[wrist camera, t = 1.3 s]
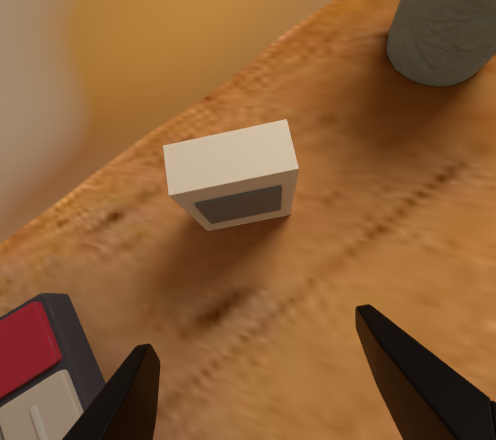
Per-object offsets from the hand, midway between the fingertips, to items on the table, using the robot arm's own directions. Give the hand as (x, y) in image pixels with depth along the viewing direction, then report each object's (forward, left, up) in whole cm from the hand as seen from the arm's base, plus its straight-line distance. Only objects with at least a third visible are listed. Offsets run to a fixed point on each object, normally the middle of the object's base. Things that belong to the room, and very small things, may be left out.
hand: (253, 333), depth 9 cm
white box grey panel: (+8, +3, -14) cm, 16 cm away
